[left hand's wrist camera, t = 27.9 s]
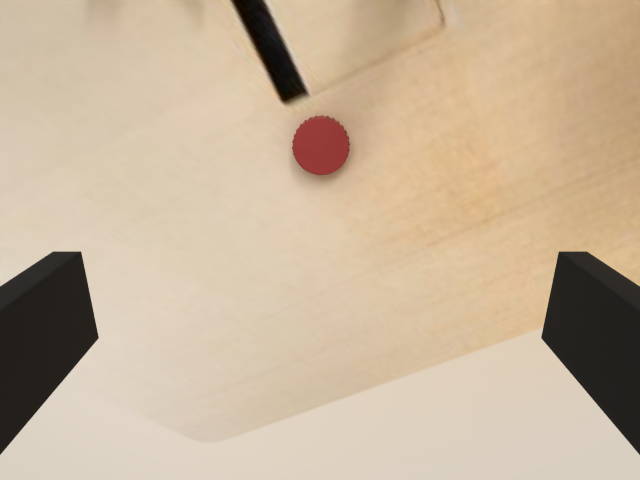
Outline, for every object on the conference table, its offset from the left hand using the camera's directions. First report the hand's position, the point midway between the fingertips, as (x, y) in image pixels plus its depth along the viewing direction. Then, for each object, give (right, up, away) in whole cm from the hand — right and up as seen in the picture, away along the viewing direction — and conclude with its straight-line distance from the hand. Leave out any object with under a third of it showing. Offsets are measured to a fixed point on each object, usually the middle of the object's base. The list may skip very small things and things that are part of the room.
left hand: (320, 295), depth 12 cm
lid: (0, +10, +27) cm, 29 cm away
